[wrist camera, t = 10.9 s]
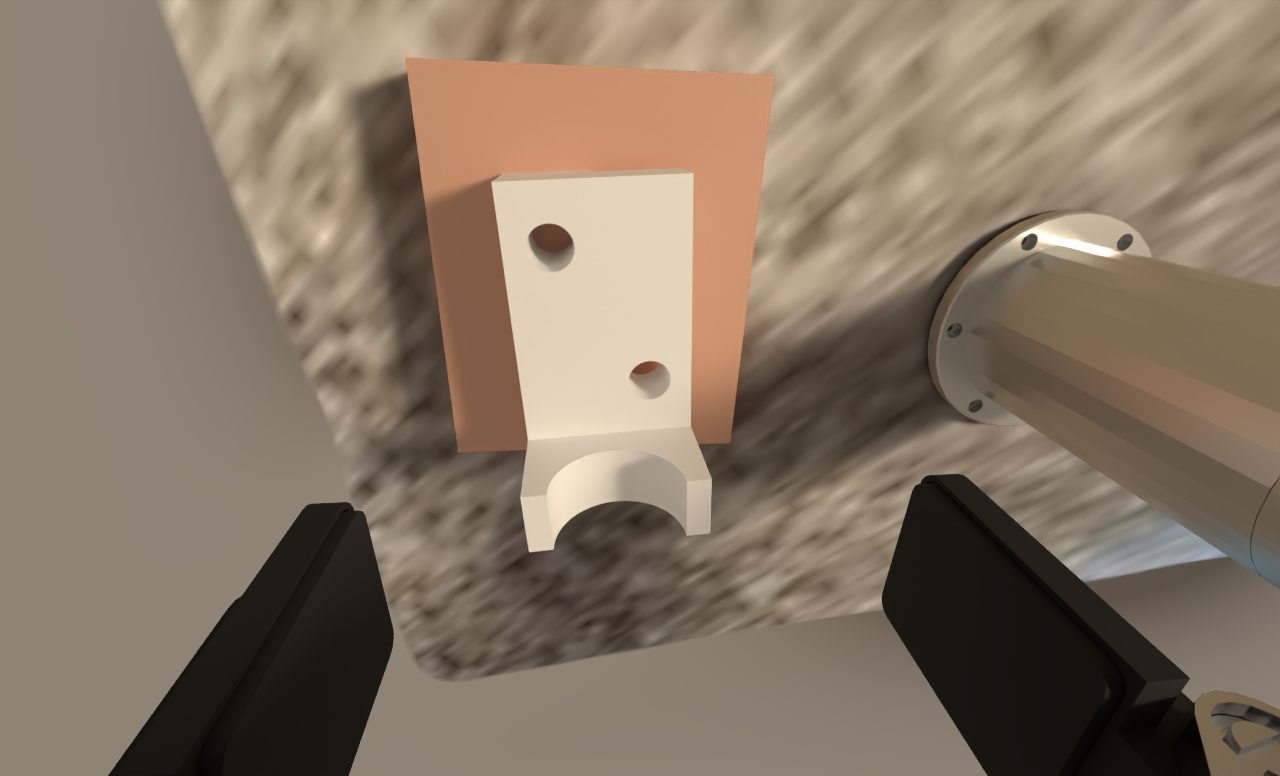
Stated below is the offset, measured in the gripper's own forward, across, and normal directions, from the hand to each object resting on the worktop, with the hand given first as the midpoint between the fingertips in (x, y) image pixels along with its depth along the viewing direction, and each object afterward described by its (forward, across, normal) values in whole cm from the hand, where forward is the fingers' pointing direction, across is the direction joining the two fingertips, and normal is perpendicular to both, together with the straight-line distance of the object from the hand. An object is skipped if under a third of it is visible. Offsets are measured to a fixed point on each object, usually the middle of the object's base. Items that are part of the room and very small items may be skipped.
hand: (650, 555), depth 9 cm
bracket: (+17, 0, +2) cm, 17 cm away
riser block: (+21, 0, 0) cm, 21 cm away
